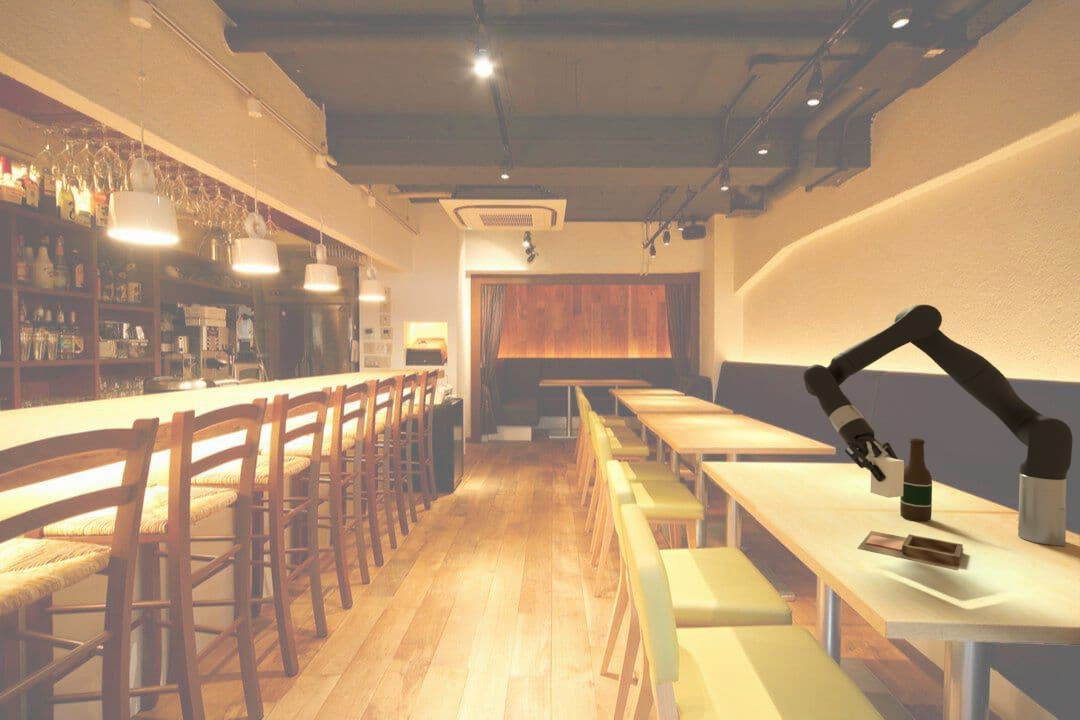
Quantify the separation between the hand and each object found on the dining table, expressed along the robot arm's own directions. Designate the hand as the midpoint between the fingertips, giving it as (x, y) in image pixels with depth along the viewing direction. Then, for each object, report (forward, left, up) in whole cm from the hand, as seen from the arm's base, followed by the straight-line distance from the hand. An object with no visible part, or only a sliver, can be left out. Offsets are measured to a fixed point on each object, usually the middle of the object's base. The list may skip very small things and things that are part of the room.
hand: (890, 479), depth 138 cm
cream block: (+1, -1, -4) cm, 4 cm away
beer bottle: (-1, -37, -18) cm, 41 cm away
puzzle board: (-4, -1, -18) cm, 18 cm away
